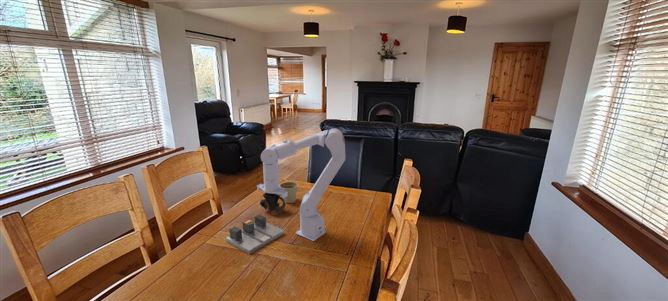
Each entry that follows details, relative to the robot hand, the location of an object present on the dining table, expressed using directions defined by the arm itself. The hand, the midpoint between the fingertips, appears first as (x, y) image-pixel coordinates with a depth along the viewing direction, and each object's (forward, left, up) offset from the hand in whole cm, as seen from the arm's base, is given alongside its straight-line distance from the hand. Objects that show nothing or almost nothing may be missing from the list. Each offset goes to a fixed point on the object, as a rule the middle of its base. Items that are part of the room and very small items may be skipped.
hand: (273, 209), depth 114 cm
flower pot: (+16, -25, -10) cm, 31 cm away
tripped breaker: (+7, +7, -8) cm, 13 cm away
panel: (+3, +7, -10) cm, 12 cm away
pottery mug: (+14, -12, -10) cm, 22 cm away
